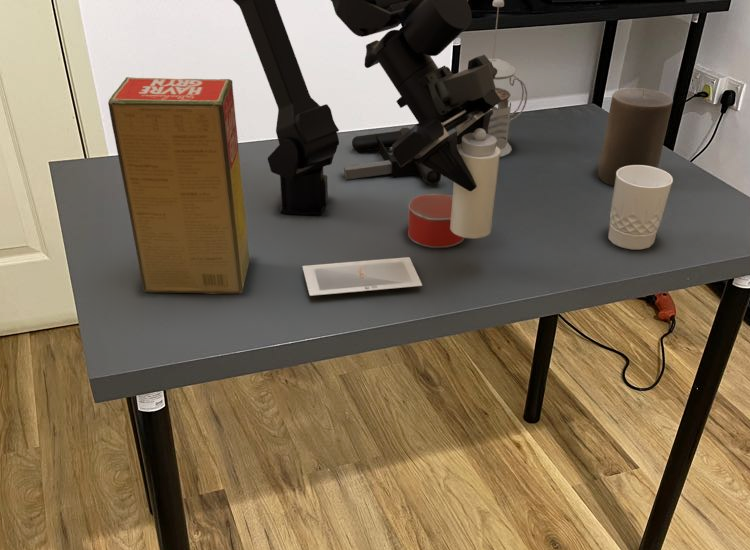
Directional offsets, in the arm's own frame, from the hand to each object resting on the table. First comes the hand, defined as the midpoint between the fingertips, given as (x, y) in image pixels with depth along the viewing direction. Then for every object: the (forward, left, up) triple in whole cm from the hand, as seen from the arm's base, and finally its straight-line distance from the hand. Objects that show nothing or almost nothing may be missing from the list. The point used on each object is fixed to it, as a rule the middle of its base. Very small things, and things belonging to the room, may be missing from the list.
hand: (484, 181), depth 107 cm
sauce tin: (-6, +11, -13) cm, 18 cm away
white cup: (+23, +12, -13) cm, 30 cm away
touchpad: (-16, -4, -13) cm, 21 cm away
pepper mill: (-1, +1, -7) cm, 7 cm away
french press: (+3, +46, -13) cm, 48 cm away
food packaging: (-38, -5, -13) cm, 40 cm away
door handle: (-15, +35, -13) cm, 40 cm away
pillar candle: (+26, +35, -13) cm, 46 cm away
